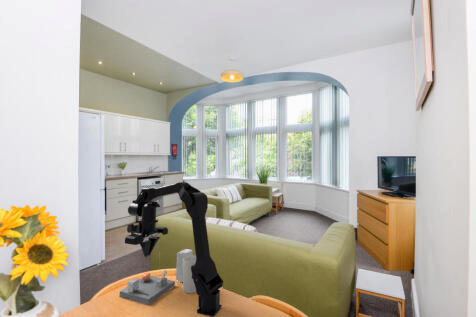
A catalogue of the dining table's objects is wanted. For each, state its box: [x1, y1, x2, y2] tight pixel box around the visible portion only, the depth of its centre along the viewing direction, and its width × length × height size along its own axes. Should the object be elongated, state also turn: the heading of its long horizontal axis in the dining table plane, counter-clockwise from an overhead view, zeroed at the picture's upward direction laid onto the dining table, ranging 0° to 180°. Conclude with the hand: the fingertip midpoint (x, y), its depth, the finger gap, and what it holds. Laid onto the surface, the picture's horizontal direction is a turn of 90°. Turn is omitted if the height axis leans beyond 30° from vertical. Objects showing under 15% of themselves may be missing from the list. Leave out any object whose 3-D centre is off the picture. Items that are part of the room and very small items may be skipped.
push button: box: [141, 272, 151, 280], centre depth 90 cm, size 3×3×2 cm
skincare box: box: [175, 248, 194, 283], centre depth 97 cm, size 6×4×12 cm
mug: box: [182, 255, 197, 294], centre depth 90 cm, size 10×7×12 cm, turn 175°
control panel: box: [119, 275, 176, 306], centre depth 86 cm, size 14×14×4 cm
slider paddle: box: [127, 278, 140, 293], centre depth 83 cm, size 2×3×4 cm
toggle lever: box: [159, 269, 168, 284], centre depth 87 cm, size 2×2×6 cm
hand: (147, 255), depth 91 cm, fingers closed
